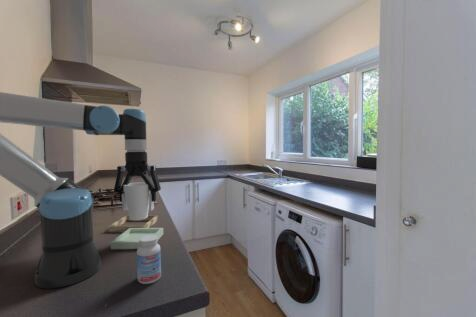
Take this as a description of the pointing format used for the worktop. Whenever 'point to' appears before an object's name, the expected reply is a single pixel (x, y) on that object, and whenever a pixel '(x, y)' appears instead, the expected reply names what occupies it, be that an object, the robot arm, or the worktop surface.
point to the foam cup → (137, 200)
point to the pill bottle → (148, 259)
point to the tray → (134, 237)
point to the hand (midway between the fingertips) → (138, 209)
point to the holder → (117, 228)
